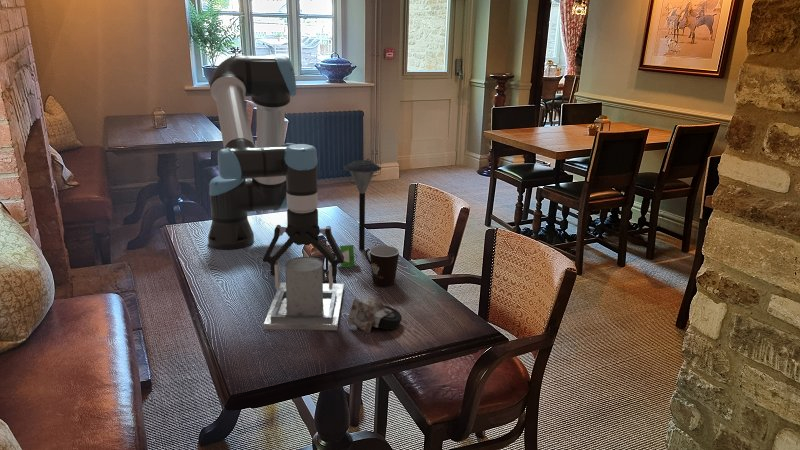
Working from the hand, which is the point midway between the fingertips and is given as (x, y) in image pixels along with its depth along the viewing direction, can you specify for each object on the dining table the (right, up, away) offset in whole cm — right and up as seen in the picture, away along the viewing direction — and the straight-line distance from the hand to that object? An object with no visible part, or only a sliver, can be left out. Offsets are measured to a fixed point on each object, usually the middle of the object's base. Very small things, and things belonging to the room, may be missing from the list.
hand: (304, 287), depth 147 cm
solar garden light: (+12, +8, +46) cm, 48 cm away
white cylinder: (0, -6, +2) cm, 6 cm away
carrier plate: (0, -6, +5) cm, 8 cm away
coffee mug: (+19, -1, +23) cm, 30 cm away
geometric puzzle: (+8, +3, +33) cm, 34 cm away
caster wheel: (+19, -9, -2) cm, 21 cm away
